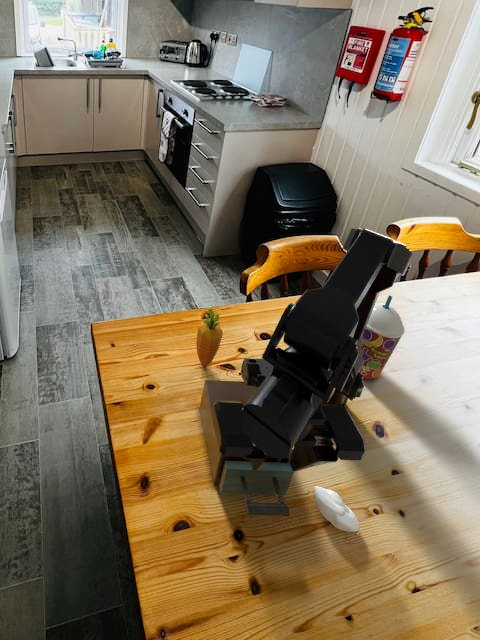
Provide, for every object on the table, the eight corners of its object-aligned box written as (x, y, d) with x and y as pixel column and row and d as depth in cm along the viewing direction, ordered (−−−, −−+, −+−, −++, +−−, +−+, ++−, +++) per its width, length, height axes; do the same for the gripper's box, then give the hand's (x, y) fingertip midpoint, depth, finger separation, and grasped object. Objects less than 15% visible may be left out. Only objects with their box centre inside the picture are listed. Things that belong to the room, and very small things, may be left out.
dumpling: (302, 509, 62) (306, 487, 61) (319, 492, 65) (323, 471, 64) (349, 552, 56) (354, 528, 56) (365, 532, 59) (370, 509, 59)
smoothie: (365, 390, 81) (397, 316, 74) (331, 358, 88) (357, 287, 80) (392, 377, 85) (425, 305, 77) (357, 347, 92) (384, 278, 84)
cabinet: (284, 486, 64) (295, 455, 61) (213, 484, 64) (221, 453, 61) (258, 411, 76) (267, 382, 73) (199, 409, 76) (204, 379, 73)
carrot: (215, 378, 82) (227, 324, 76) (191, 373, 83) (201, 319, 77) (215, 358, 87) (225, 306, 81) (192, 354, 87) (201, 301, 82)
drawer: (298, 533, 58) (308, 508, 56) (228, 531, 58) (235, 506, 55) (261, 422, 73) (268, 399, 71) (205, 420, 73) (210, 397, 70)
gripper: (337, 342, 58) (311, 413, 64) (210, 337, 57) (197, 409, 63) (385, 417, 47) (348, 494, 53) (230, 412, 47) (212, 490, 53)
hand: (272, 467), depth 56 cm, fingers open, 5 cm apart
